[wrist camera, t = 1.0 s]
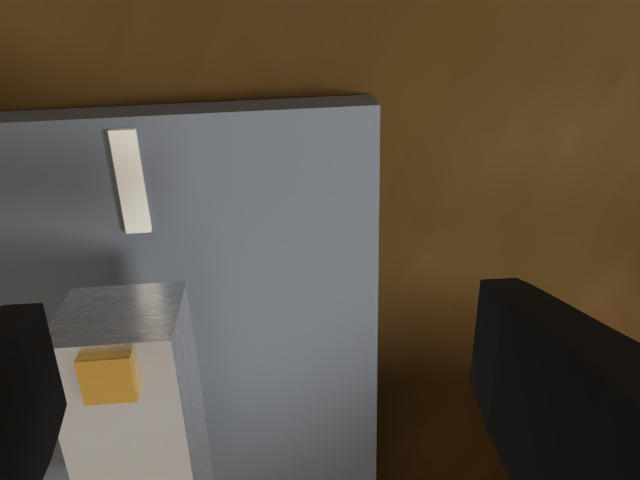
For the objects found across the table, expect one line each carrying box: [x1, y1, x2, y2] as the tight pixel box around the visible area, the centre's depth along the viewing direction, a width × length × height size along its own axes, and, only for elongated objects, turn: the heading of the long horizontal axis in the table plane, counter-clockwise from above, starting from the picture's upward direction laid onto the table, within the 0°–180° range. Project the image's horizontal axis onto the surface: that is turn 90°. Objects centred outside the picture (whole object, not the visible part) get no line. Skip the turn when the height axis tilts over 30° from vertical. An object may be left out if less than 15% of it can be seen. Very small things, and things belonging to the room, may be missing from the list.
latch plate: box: [0, 94, 380, 480], centre depth 20 cm, size 16×14×2 cm
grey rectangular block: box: [48, 281, 214, 480], centre depth 17 cm, size 8×3×5 cm, turn 2°
